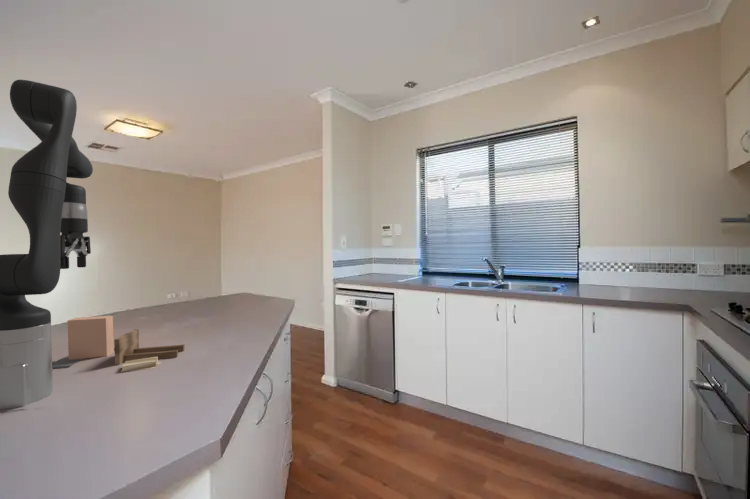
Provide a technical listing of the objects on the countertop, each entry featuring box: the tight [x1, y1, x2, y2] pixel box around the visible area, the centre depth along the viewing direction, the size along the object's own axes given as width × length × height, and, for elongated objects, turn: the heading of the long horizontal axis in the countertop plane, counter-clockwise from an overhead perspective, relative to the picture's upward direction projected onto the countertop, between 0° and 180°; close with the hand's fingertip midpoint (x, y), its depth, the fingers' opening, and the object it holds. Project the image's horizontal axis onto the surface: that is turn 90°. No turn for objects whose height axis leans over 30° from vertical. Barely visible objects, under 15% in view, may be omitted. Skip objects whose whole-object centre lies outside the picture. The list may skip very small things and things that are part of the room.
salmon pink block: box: [67, 315, 115, 360], centre depth 103 cm, size 4×10×12 cm, turn 103°
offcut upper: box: [121, 356, 159, 372], centre depth 93 cm, size 5×8×2 cm, turn 117°
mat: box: [52, 347, 115, 370], centre depth 103 cm, size 16×16×1 cm
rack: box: [113, 328, 185, 366], centre depth 102 cm, size 12×15×8 cm
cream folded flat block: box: [119, 361, 162, 372], centre depth 93 cm, size 5×8×2 cm, turn 104°
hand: (73, 268), depth 106 cm, fingers open, 8 cm apart
